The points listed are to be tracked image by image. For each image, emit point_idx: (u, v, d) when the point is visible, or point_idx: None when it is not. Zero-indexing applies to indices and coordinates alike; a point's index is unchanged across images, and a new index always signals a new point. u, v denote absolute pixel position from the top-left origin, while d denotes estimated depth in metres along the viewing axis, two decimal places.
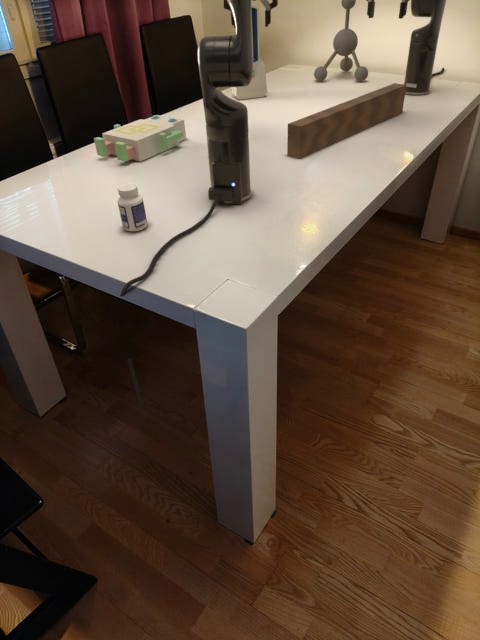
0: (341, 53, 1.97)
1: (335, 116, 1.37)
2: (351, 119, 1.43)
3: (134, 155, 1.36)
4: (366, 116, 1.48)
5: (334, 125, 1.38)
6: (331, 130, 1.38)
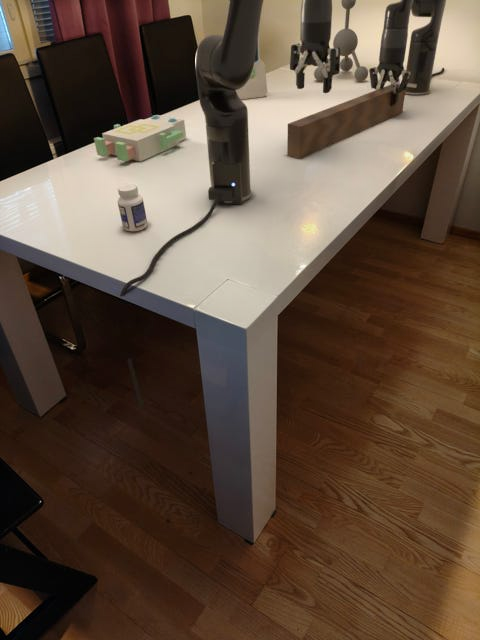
0: (341, 53, 1.97)
1: (335, 116, 1.37)
2: (351, 119, 1.43)
3: (134, 155, 1.36)
4: (366, 116, 1.48)
5: (334, 125, 1.38)
6: (331, 130, 1.38)
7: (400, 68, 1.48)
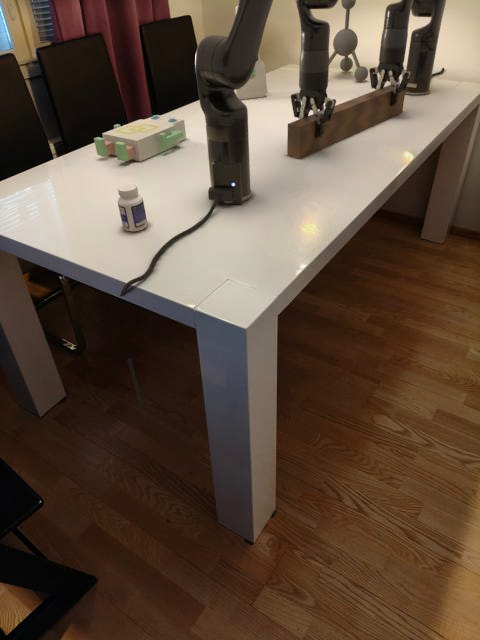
0: (341, 53, 1.97)
1: (335, 116, 1.37)
2: (351, 119, 1.43)
3: (134, 155, 1.36)
4: (366, 116, 1.48)
5: (334, 125, 1.38)
6: (331, 130, 1.38)
7: (400, 68, 1.48)
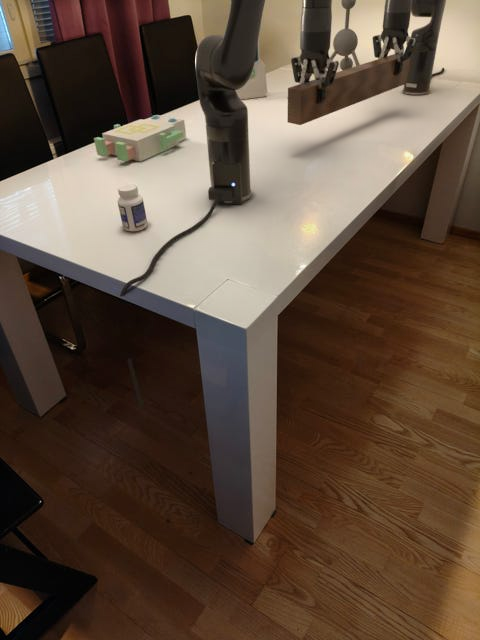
0: (341, 53, 1.97)
1: (338, 81, 1.31)
2: (354, 86, 1.38)
3: (134, 155, 1.36)
4: (369, 84, 1.43)
5: (336, 91, 1.33)
6: (333, 96, 1.33)
7: (405, 34, 1.42)
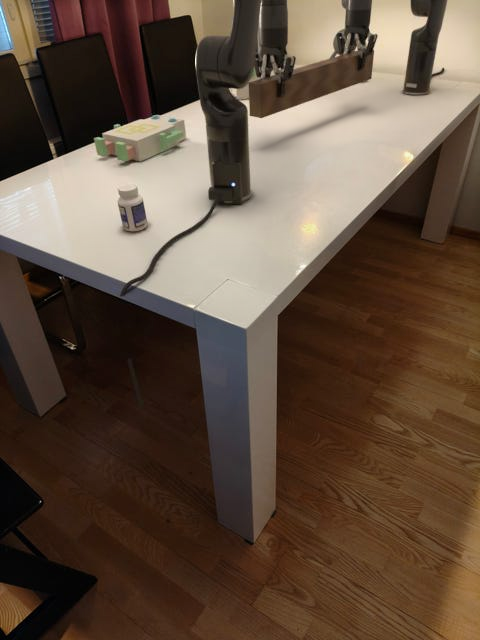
0: None
1: (298, 76, 1.36)
2: (316, 81, 1.43)
3: (134, 155, 1.36)
4: (332, 79, 1.48)
5: (297, 85, 1.38)
6: (294, 90, 1.38)
7: (366, 31, 1.47)
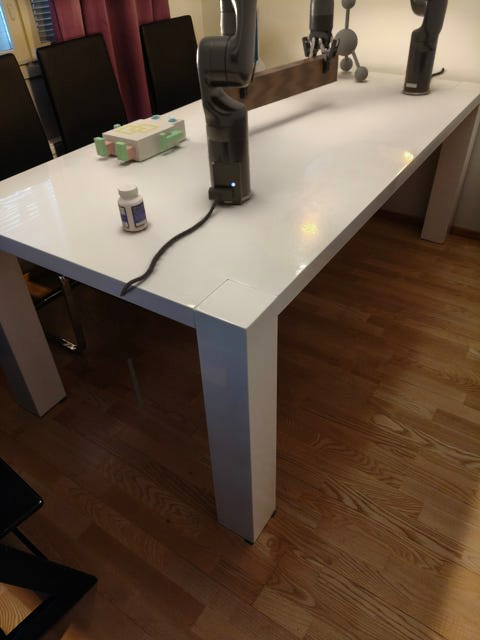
0: (341, 53, 1.97)
1: (261, 79, 1.43)
2: (280, 83, 1.49)
3: (134, 155, 1.36)
4: (296, 81, 1.54)
5: (260, 88, 1.44)
6: (257, 92, 1.44)
7: (328, 35, 1.54)
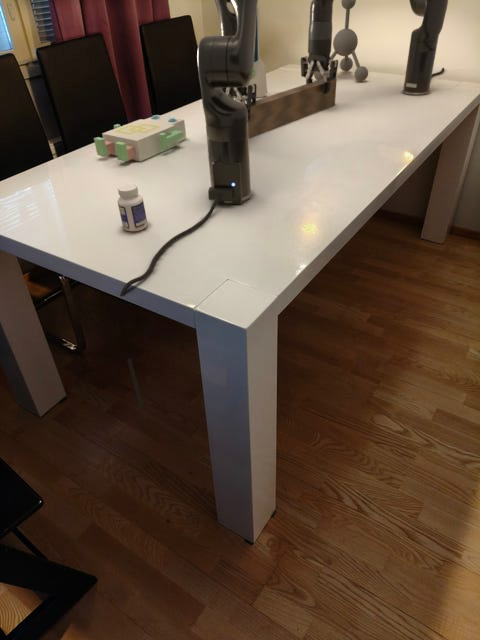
0: (341, 53, 1.97)
1: (261, 107, 1.48)
2: (279, 110, 1.54)
3: (134, 155, 1.36)
4: (295, 107, 1.59)
5: (261, 115, 1.49)
6: (258, 120, 1.49)
7: (327, 59, 1.58)
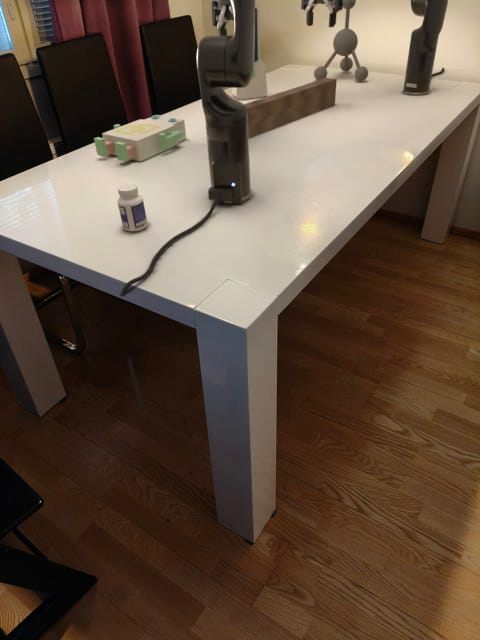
0: (341, 53, 1.97)
1: (261, 107, 1.48)
2: (279, 110, 1.54)
3: (134, 155, 1.36)
4: (295, 107, 1.59)
5: (261, 115, 1.49)
6: (258, 120, 1.49)
7: None
